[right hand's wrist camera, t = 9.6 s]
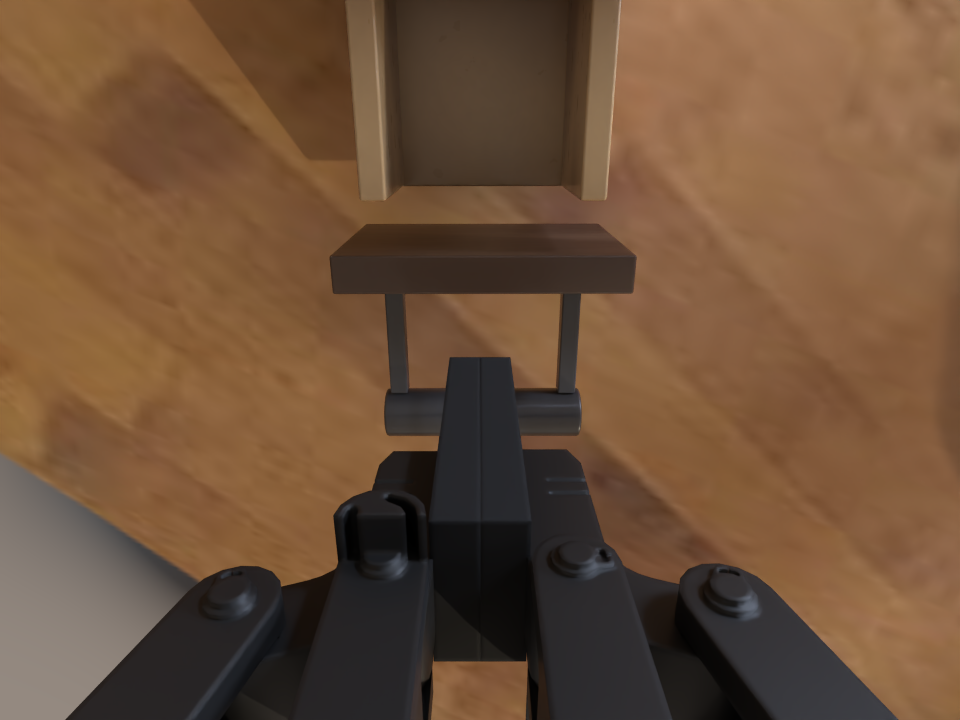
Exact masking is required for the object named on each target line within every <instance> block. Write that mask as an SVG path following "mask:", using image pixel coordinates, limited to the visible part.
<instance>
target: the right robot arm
mask: <svg viewBox="0 0 960 720" xmlns="http://www.w3.org/2000/svg"><path fill="white" fill-rule="evenodd" d="M333 517H334V526H335V535H336V545H337V554H338V565H337V568H336V569H335V570H333V571H331V572H329V573H327V574H325V575H323V576H320V577H317V578H314V579H311V580H308V581H304V582H299V583H295V584H291V585H287V586H282V587H281V584H280V580H279V579H278V578H277V577H276V576H275V574H274V573H273V572H272V571H269V570H266V569H264V568H261V567H259V566H239V567H234V568H230V569H226V570H222V571H220V572H217V573H215V574H213V575H211V576H209V577H207V578H205V579H203V580H202V581H201V582H199V583H198V584H197V585H196V586H194V587H193V588H192V589H191V590H189V591H188V592H187V593H186V594H185V595H184V596H183V597H182V599H181V600H180V601H179V602H178V603H177V604H176V605H175V606H174V607H173V608H172V609H171V610H170V611H169V612H168V613H167V614H166V615H165V616H164V617H163V618H162V619H161V620H160V621H159V623H158V624H157V625H156V626H155V627H154V628H153V629H152V630H151V631H150V632H149V633H148V634H147V635H146V636H145V637H144V638H143V639H142V640H141V641H140V642H139V643H138V644H137V645H136V647H135V648H134V649H133V650H132V651H131V652H130V653H129V654H128V655H127V656H126V657H125V658H124V659H123V660H122V661H121V662H120V663H119V664H118V665H117V666H116V667H115V669H114V670H113V671H112V672H111V673H110V674H109V675H108V676H107V677H106V678H105V679H104V680H103V681H102V682H101V683H100V684H99V685H98V686H97V687H96V688H95V689H94V690H93V691H92V692H91V694H90V695H89V696H88V697H87V698H86V699H85V700H84V701H83V702H82V703H81V704H80V705H79V706H78V707H77V708H76V709H75V710H74V711H73V712H72V713H71V714H70V715H69V716H68V718H67V719H66V720H431V712H432V700H433V677H432V664H433V655H434V661H526V655H527V661H528V677H527V702H526V720H898V719H897V718H896V717H895V716H894V715H893V714H892V713H891V711H890V710H889V709H888V708H887V707H886V706H885V705H884V704H883V703H882V702H881V701H880V700H879V699H878V698H877V697H876V696H875V695H874V694H873V693H872V692H871V691H870V690H869V689H868V688H867V687H866V686H865V685H864V683H863V682H862V681H861V680H860V679H859V678H858V677H857V676H856V675H855V674H854V673H853V672H852V671H851V670H850V669H849V668H848V667H847V666H846V665H845V664H844V663H843V662H842V661H841V660H840V659H839V658H838V657H837V656H836V654H835V653H834V652H833V651H832V650H831V649H830V648H829V647H828V646H827V645H826V644H825V643H824V642H823V641H822V640H821V639H820V638H819V637H818V636H817V635H816V634H815V633H814V632H813V631H812V630H811V629H810V628H809V626H808V625H807V624H806V623H805V622H804V621H803V620H802V619H801V618H800V617H799V616H798V615H797V614H796V613H795V612H794V611H793V610H792V609H791V608H790V607H789V606H788V605H787V604H786V603H785V602H784V601H783V600H782V598H781V597H780V596H779V595H778V594H777V593H776V592H775V591H774V590H773V589H772V588H771V587H769V586H768V585H767V584H766V583H764V582H763V581H762V580H761V579H759V578H758V577H757V576H755V575H753V574H750V573H748V572H746V571H744V570H742V569H740V568H737V567H732V566H728V565H723V564H701V565H698V566H695V567H693V568H690V569H688V570H687V571H686V572H685V574H684V575H683V576H682V577H681V578H680V584H675V583H671V582H666V581H662V580H658V579H654V578H650V577H647V576H644V575H641V574H638V573H636V572H634V571H632V570H630V569H628V568H626V567H625V566H623V564H622V561H621V560H620V558H619V556H618V555H617V553H616V551H615V550H614V549H612V548H611V547H610V546H609V545H607V544H606V543H605V542H604V540H603V536H602V533H601V530H600V526H599V523H598V519H597V516H596V513H595V509H594V506H593V503H592V499H591V496H590V495H589V489H588V486H587V483H586V482H585V476H584V473H583V469H582V466H581V463H580V462H579V461H578V460H577V459H576V458H575V457H574V456H573V455H572V454H571V453H570V452H569V451H567V450H522V444H521V436H520V429H519V421H518V413H517V406H516V398H515V390H514V383H513V375H512V367H511V360H510V357H450V360H449V367H448V375H447V383H446V390H445V398H444V406H443V413H442V421H441V429H440V436H439V444H438V451H393V452H392V453H391V454H390V455H389V456H388V457H387V458H386V459H385V460H384V461H383V462H382V463H381V464H380V465H379V468H378V471H377V475H376V478H375V484H374V485H373V488H372V491H368V492H365V493H362V494H359V495H356V496H353V497H352V498H350V499H349V500H347V501H346V502H344V503H343V504H341V505H340V507H339V508H338V510H337V511H336V512H335V514H334V515H333Z"/></svg>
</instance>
